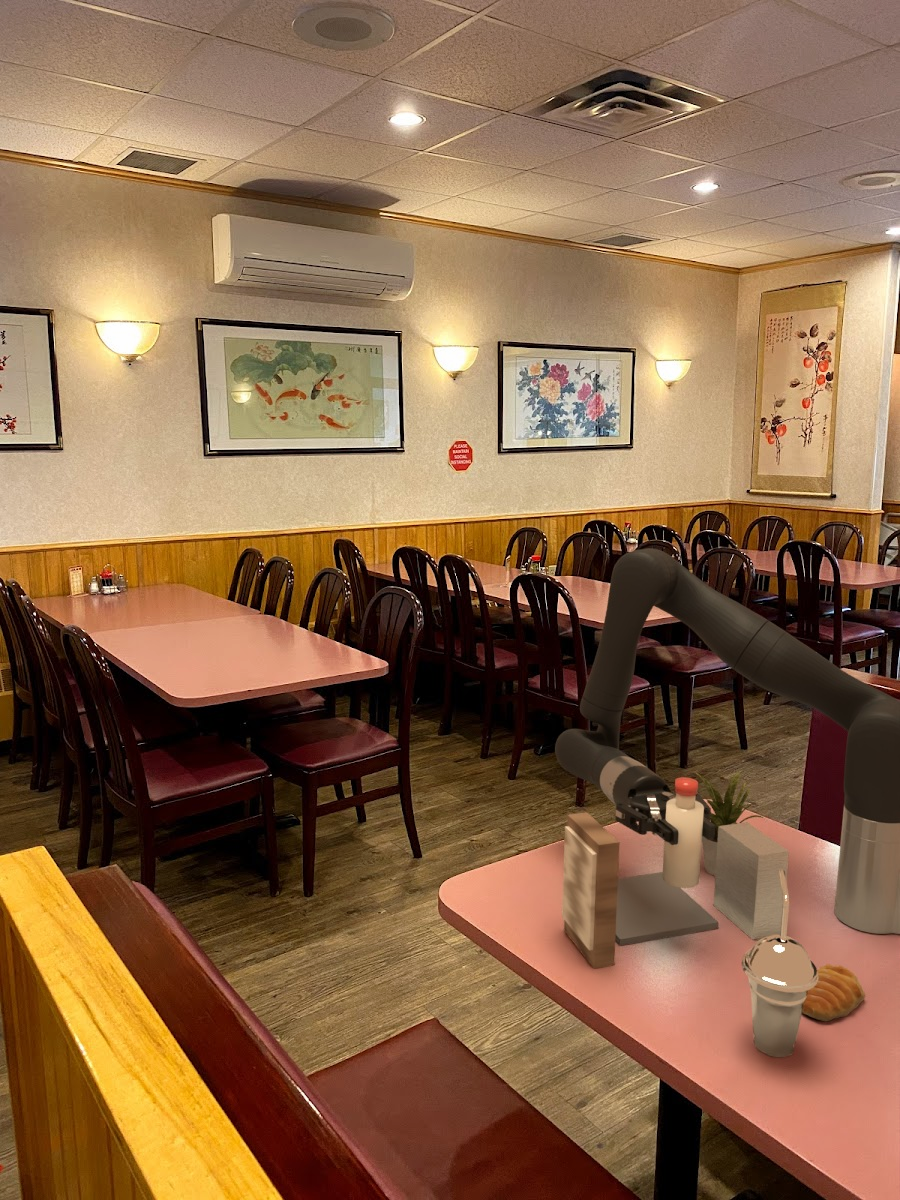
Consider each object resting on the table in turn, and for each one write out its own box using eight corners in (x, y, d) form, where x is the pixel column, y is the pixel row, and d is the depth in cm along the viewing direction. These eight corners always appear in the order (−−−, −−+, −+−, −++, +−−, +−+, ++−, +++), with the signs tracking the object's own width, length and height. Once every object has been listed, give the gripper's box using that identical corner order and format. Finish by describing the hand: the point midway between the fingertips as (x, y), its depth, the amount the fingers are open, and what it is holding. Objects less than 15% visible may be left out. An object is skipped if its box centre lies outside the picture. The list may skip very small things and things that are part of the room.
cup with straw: (724, 1046, 109) (734, 891, 105) (755, 1010, 115) (766, 863, 112) (795, 1080, 103) (809, 917, 99) (823, 1040, 110) (837, 886, 106)
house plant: (685, 840, 162) (690, 753, 159) (767, 856, 157) (774, 766, 153) (667, 875, 150) (672, 781, 147) (755, 894, 144) (762, 797, 141)
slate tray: (572, 891, 145) (572, 885, 144) (662, 877, 149) (662, 871, 149) (619, 945, 130) (620, 939, 129) (718, 928, 134) (718, 922, 134)
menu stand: (560, 930, 133) (563, 815, 130) (582, 927, 134) (586, 812, 131) (590, 969, 124) (594, 845, 121) (614, 964, 125) (619, 842, 122)
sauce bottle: (702, 875, 129) (708, 778, 126) (695, 891, 125) (701, 791, 122) (666, 867, 131) (672, 772, 128) (658, 882, 127) (664, 784, 124)
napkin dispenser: (713, 905, 141) (718, 826, 138) (741, 900, 142) (747, 822, 140) (752, 939, 131) (758, 855, 129) (782, 934, 133) (788, 850, 130)
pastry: (837, 1034, 111) (839, 1006, 111) (784, 1010, 116) (786, 983, 115) (867, 1001, 118) (869, 974, 117) (815, 979, 122) (817, 953, 122)
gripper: (591, 769, 137) (648, 816, 121) (676, 760, 141) (741, 803, 125) (590, 816, 139) (645, 868, 123) (673, 805, 143) (738, 854, 127)
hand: (694, 835), depth 124 cm, fingers closed on sauce bottle, 5 cm apart
